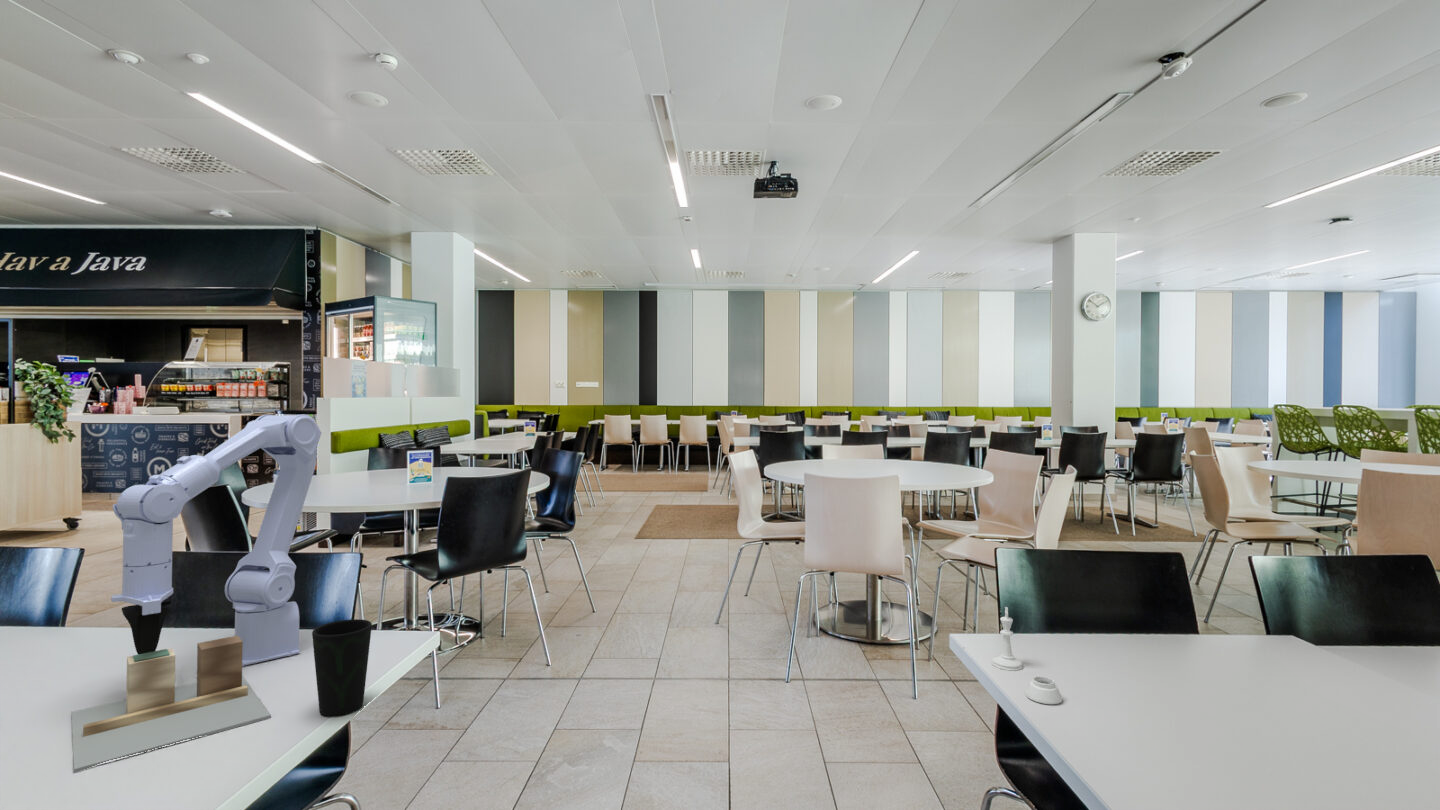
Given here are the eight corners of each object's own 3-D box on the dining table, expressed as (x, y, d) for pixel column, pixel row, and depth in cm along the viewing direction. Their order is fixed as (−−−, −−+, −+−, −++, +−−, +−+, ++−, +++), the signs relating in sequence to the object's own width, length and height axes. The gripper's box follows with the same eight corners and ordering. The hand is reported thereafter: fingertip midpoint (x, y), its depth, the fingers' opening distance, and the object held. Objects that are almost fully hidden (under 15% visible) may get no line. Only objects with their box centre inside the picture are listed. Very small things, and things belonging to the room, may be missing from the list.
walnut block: (236, 685, 102) (237, 635, 103) (241, 693, 100) (242, 641, 100) (196, 695, 99) (197, 643, 99) (200, 703, 96) (201, 649, 96)
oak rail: (246, 693, 100) (246, 685, 100) (247, 695, 99) (247, 687, 99) (83, 733, 87) (83, 724, 87) (83, 736, 86) (83, 727, 86)
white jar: (1018, 693, 101) (1039, 708, 96) (1018, 674, 101) (1039, 688, 96) (1047, 691, 102) (1069, 705, 97) (1047, 672, 102) (1069, 685, 97)
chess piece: (991, 668, 111) (991, 609, 111) (991, 658, 115) (990, 602, 116) (1023, 672, 109) (1022, 613, 109) (1021, 662, 113) (1021, 605, 114)
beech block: (171, 701, 97) (172, 646, 97) (174, 710, 94) (175, 653, 94) (125, 712, 93) (127, 655, 93) (128, 721, 90) (129, 663, 91)
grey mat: (240, 675, 108) (240, 672, 108) (270, 717, 92) (270, 714, 92) (71, 714, 93) (71, 711, 93) (73, 772, 78) (73, 769, 78)
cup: (382, 701, 98) (383, 622, 98) (338, 724, 91) (339, 638, 91) (344, 694, 100) (345, 617, 101) (298, 715, 93) (299, 632, 93)
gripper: (109, 559, 101) (108, 646, 101) (115, 575, 91) (113, 672, 91) (168, 553, 106) (167, 635, 106) (179, 567, 96) (178, 658, 96)
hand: (146, 651), depth 99 cm, fingers closed
